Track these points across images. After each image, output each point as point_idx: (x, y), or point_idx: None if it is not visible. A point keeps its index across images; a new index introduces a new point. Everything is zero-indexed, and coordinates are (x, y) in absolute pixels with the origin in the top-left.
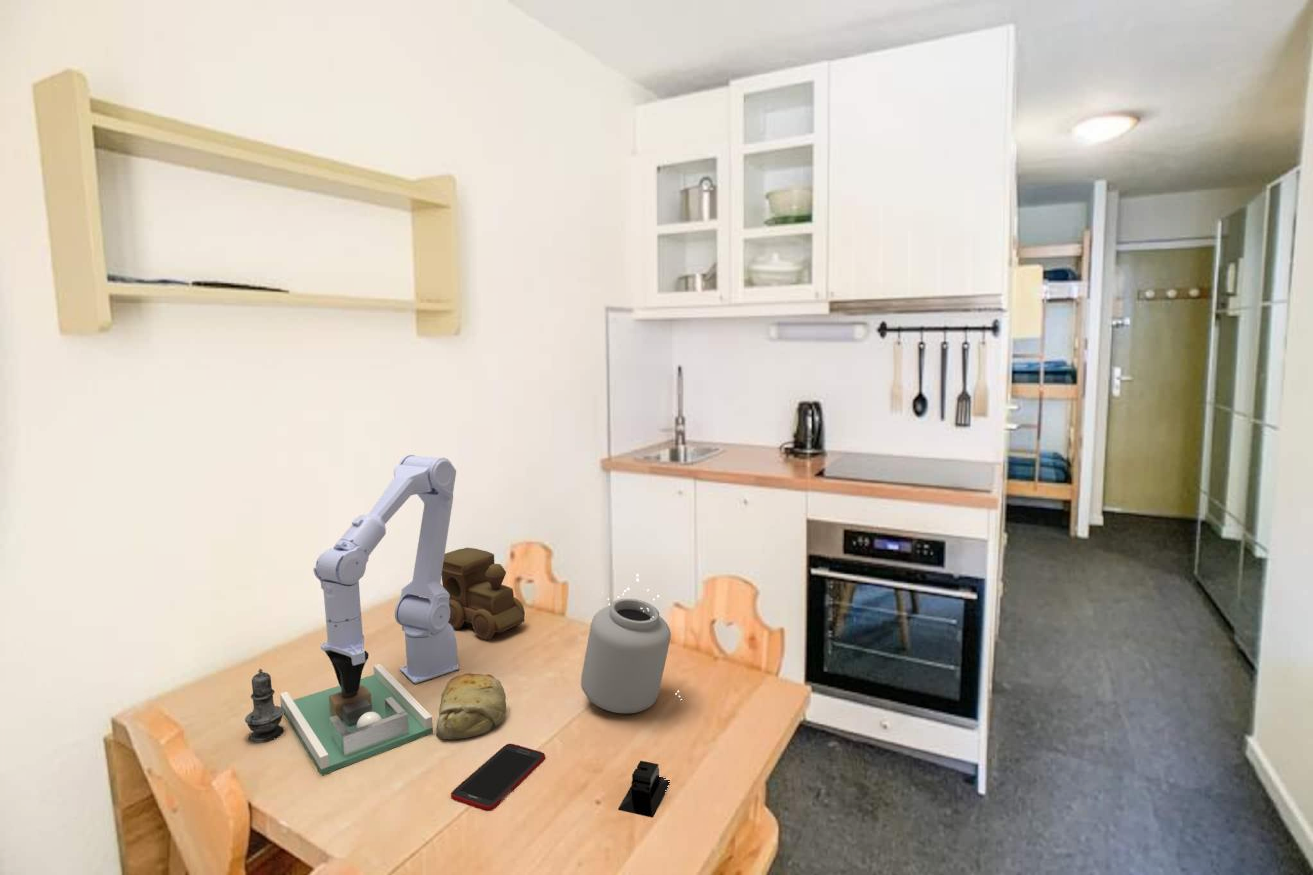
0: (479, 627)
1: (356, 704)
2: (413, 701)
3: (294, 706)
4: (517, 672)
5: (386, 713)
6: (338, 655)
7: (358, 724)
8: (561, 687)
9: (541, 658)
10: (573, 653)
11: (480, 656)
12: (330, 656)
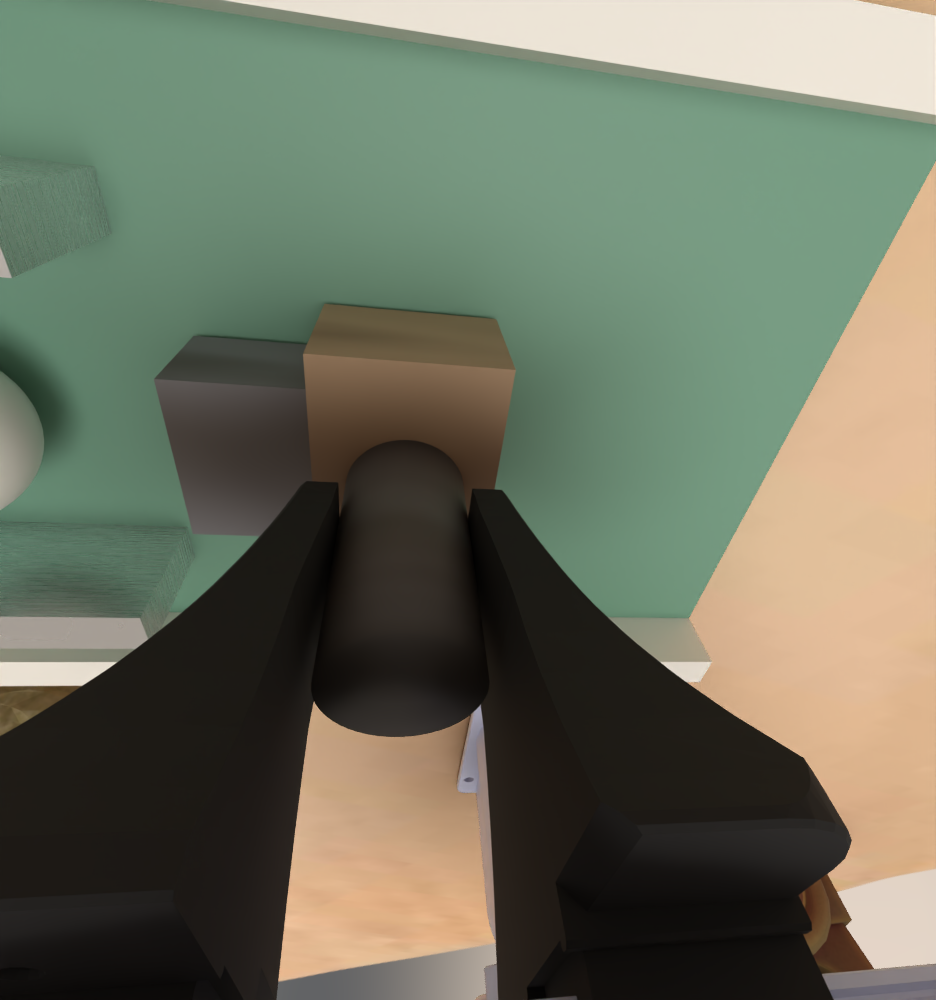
0: None
1: (259, 472)
2: None
3: (708, 52)
4: (302, 851)
5: (161, 547)
6: (539, 815)
7: None
8: None
9: (341, 890)
10: (310, 922)
11: None
12: (572, 777)
